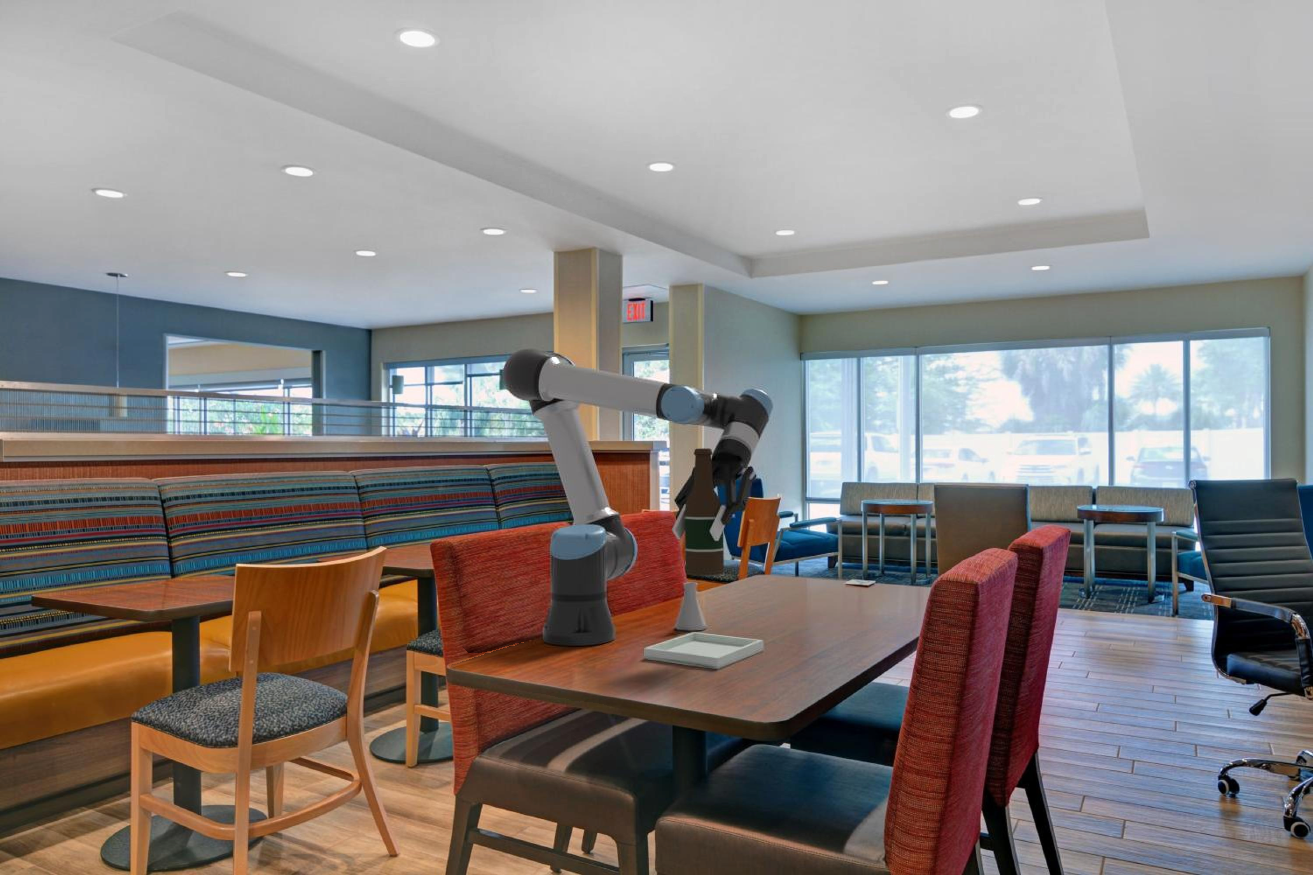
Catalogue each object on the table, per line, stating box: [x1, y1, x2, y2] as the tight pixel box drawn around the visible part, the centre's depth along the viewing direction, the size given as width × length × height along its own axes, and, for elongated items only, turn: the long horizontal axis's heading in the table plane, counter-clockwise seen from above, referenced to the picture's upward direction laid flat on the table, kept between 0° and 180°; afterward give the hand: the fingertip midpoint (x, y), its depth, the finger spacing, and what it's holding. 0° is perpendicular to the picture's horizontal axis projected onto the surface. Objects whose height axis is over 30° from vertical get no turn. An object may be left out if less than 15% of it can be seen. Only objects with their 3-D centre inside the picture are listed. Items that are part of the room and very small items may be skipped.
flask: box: [674, 582, 708, 632], centre depth 198 cm, size 7×7×10 cm
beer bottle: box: [684, 447, 725, 577], centre depth 172 cm, size 8×8×24 cm
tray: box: [643, 631, 765, 670], centre depth 172 cm, size 16×18×2 cm
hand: (694, 535), depth 169 cm, fingers closed on beer bottle, 8 cm apart
